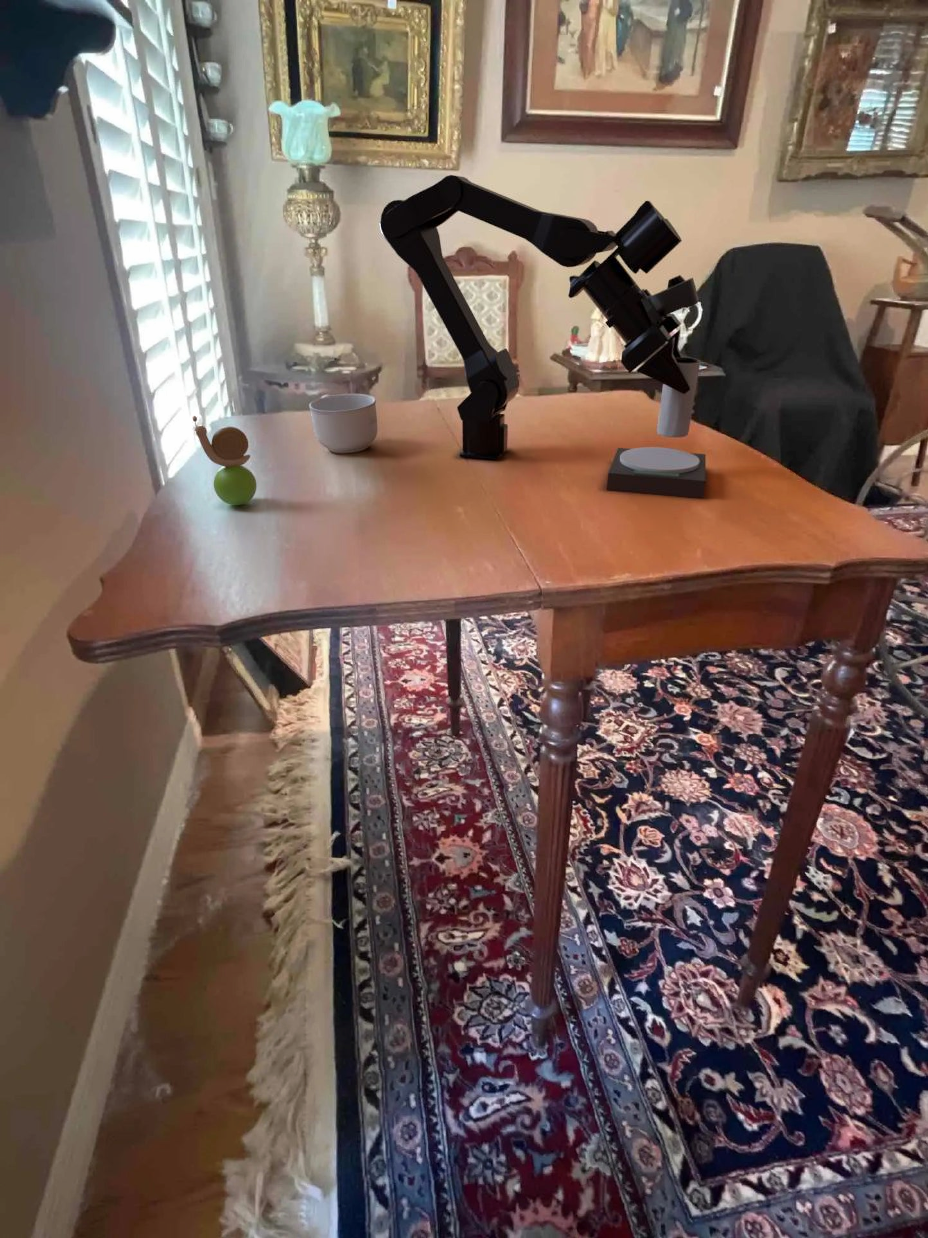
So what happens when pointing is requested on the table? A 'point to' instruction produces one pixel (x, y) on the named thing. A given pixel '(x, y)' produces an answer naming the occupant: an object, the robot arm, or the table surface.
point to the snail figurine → (229, 463)
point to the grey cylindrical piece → (678, 402)
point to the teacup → (344, 421)
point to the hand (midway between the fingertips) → (689, 388)
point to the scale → (658, 472)
